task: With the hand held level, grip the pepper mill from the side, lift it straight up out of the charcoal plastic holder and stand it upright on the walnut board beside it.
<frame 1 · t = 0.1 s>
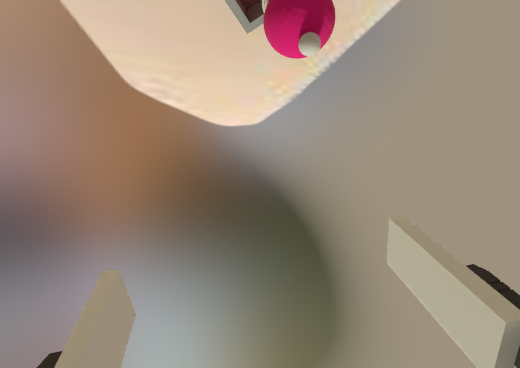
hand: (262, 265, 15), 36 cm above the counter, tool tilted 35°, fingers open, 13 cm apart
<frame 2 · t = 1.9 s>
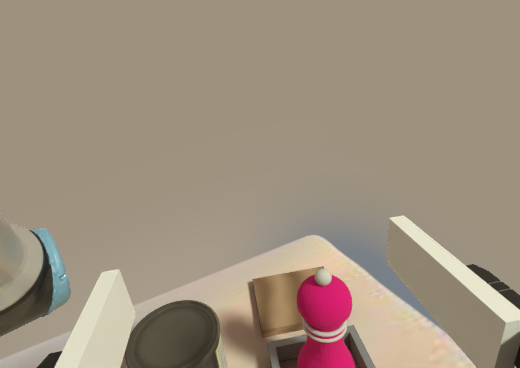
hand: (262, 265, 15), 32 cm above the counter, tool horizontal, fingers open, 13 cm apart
board: (296, 301, 55), on the counter
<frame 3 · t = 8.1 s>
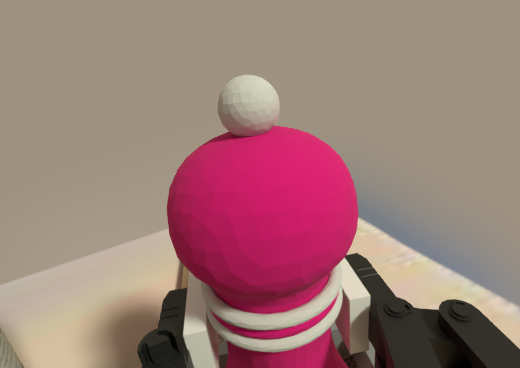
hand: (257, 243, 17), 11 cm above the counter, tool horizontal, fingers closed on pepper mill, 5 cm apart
when the fingers open (14 cm above the counter, at t = 12.4 s): pepper mill drops 1 cm, resting on board.
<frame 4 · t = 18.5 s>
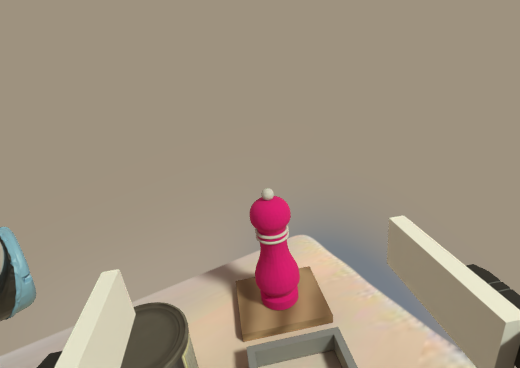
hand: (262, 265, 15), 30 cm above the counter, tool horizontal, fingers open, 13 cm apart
pepper mill: (279, 297, 52), point 1 cm above the counter, touching board
board: (280, 303, 53), on the counter
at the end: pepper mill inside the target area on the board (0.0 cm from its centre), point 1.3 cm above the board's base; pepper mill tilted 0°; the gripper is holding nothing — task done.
